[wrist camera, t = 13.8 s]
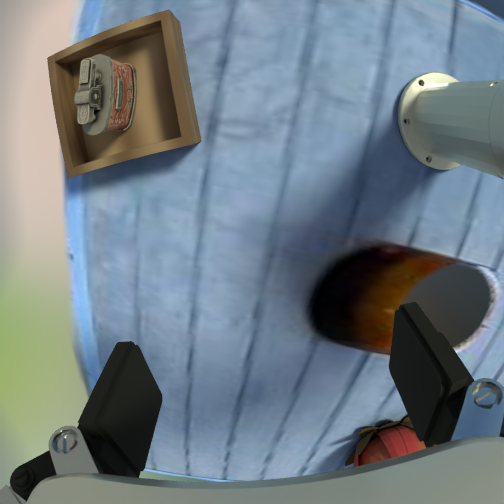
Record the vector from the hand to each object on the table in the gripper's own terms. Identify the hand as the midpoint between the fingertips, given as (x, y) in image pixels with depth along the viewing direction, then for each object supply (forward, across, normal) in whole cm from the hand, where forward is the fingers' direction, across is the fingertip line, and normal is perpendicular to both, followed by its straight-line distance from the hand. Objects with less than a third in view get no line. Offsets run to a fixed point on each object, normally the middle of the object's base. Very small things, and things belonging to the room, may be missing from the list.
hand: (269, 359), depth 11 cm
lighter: (+28, +13, -14) cm, 33 cm away
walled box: (+28, +13, -14) cm, 34 cm away
